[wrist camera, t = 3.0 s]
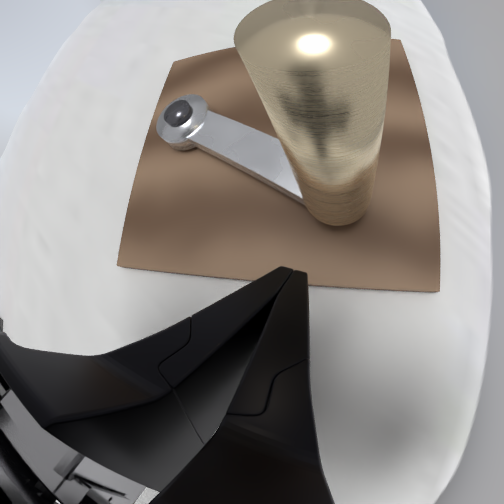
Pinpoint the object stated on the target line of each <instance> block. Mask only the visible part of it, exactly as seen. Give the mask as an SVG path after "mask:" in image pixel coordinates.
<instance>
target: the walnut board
mask: <svg viewBox="0 0 504 504" xmlns="http://www.w3.org/2000/svg"><path fill="white" fill-rule="evenodd" d="M189 94H195V95H199V96H201V97H202V98H203V99H204V100H205V101H206V103H207V104H208V106H209V107H210V108H211V110H212V111H213V112H214V113H216V114H219V115H222V116H224V117H227V118H229V119H232V120H234V121H237V122H239V123H242V124H244V125H247V126H249V127H251V128H254V129H256V130H259V131H261V132H263V133H265V134H268V135H270V136H272V137H274V138H277V139H278V136H277V134H276V132H275V129H274V127H273V125H272V123H271V120H270V118H269V116H268V114H267V111H266V109H265V107H264V105H263V103H262V100H261V98H260V96H259V94H258V92H257V90H256V88H255V85H254V83H253V81H252V79H251V77H250V75H249V73H248V71H247V69H246V67H245V65H244V63H243V61H242V59H241V57H240V55H239V53H238V51H237V49H236V47H233V48H228V49H223V50H218V51H214V52H209V53H205V54H201V55H197V56H193V57H189V58H186V59H182V60H178V61H175V62H173V64H172V67H171V69H170V72H169V74H168V77H167V79H166V82H165V84H164V87H163V90H162V92H161V95H160V98H159V101H158V103H157V106H156V109H155V112H154V115H153V118H152V121H151V124H150V127H149V130H148V133H147V136H146V140H145V143H144V146H143V150H142V153H141V157H140V160H139V164H138V167H137V171H136V175H135V179H134V183H133V187H132V191H131V195H130V199H129V204H128V208H127V213H126V217H125V222H124V227H123V232H122V238H121V243H120V249H119V255H118V261H117V266H120V267H124V268H133V269H141V270H150V271H159V272H168V273H177V274H186V275H196V276H206V277H216V278H227V279H238V280H249V281H255V280H257V279H258V278H260V277H262V276H264V275H265V274H267V273H269V272H271V271H272V270H274V269H276V268H278V267H280V266H284V267H288V268H292V269H293V270H299V271H303V272H306V273H307V274H308V285H311V286H325V287H340V288H356V289H373V290H392V291H413V292H439V291H440V229H439V213H438V201H437V191H436V182H435V175H434V168H433V161H432V155H431V149H430V143H429V138H428V133H427V128H426V124H425V119H424V115H423V111H422V107H421V103H420V99H419V95H418V92H417V88H416V85H415V81H414V78H413V75H412V72H411V68H410V65H409V62H408V59H407V57H406V54H405V51H404V48H403V45H402V43H401V40H397V39H391V45H390V64H389V78H388V90H387V100H386V109H385V117H384V125H383V132H382V139H381V146H380V152H379V158H378V164H377V170H376V176H375V181H374V186H373V191H372V196H371V201H370V204H369V207H368V209H367V211H366V212H365V214H364V215H363V216H362V217H361V218H360V219H358V220H357V221H355V222H353V223H351V224H348V225H343V226H332V225H328V224H325V223H322V222H320V221H319V220H317V219H316V218H315V217H313V216H312V215H311V213H310V212H309V211H308V209H307V207H305V206H304V205H302V204H300V203H299V202H297V201H295V200H294V199H292V198H290V197H288V196H287V195H285V194H283V193H281V192H280V191H278V190H276V189H274V188H273V187H271V186H269V185H267V184H265V183H264V182H262V181H260V180H258V179H256V178H255V177H253V176H251V175H249V174H247V173H245V172H244V171H242V170H240V169H238V168H236V167H234V166H232V165H230V164H229V163H227V162H225V161H223V160H221V159H219V158H217V157H215V156H213V155H211V154H209V153H207V152H205V151H203V150H201V149H199V148H197V147H194V148H192V149H189V150H176V149H174V148H172V147H171V146H170V145H169V144H168V143H167V142H166V141H165V140H164V139H163V138H161V137H160V136H159V134H158V133H157V129H156V125H157V120H158V118H159V116H160V114H161V112H162V111H163V110H164V109H165V107H166V106H167V105H169V104H170V103H171V102H172V101H174V100H175V99H177V98H179V97H181V96H184V95H189Z"/></svg>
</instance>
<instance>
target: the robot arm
mask: <svg viewBox="0 0 504 504" xmlns="http://www.w3.org/2000/svg"><path fill="white" fill-rule="evenodd" d="M309 359H310V329H309V294H308V274H307V273H306V272H303V271H299V270H293V269H292V268H288V267H284V266H280V267H278V268H276V269H274V270H272V271H271V272H269V273H267V274H265V275H264V276H262V277H260V278H258V279H257V280H255V281H253V282H251V283H250V284H248V285H246V286H244V287H242V288H241V289H239V290H237V291H235V292H233V293H232V294H230V295H228V296H226V297H225V298H223V299H221V300H219V301H217V302H215V303H214V304H212V305H210V306H208V307H206V308H205V309H203V310H201V311H199V312H197V313H195V314H194V315H192V316H191V317H188V318H186V319H184V320H182V321H180V322H179V323H177V324H175V325H173V326H171V327H169V328H167V329H165V330H163V331H160V332H158V333H156V334H153V335H151V336H149V337H146V338H144V339H141V340H139V341H136V342H134V343H131V344H129V345H126V346H124V347H121V348H119V349H116V350H114V351H111V352H108V353H105V354H101V355H94V356H83V355H73V354H64V353H56V352H48V351H41V350H34V349H29V348H24V347H21V346H18V345H16V344H15V343H13V342H12V341H11V340H10V338H9V337H8V336H7V334H6V333H5V332H0V504H58V503H57V502H55V501H56V500H58V501H59V502H60V503H61V504H134V503H135V502H136V500H137V499H138V497H139V496H140V495H141V493H142V492H143V491H144V489H145V488H146V487H148V488H151V489H153V490H156V491H158V492H160V493H159V494H158V495H157V496H156V497H155V498H154V499H153V500H152V501H151V502H150V503H149V504H335V503H334V500H333V497H332V495H331V492H330V489H329V487H328V484H327V481H326V478H325V476H324V472H323V469H322V465H321V460H320V455H319V448H318V441H317V434H316V427H315V420H314V413H313V406H312V397H311V385H310V360H309ZM220 423H221V424H220ZM219 425H220V426H219ZM218 426H219V427H218ZM217 428H218V429H217ZM216 429H217V431H216ZM215 431H216V432H215ZM214 432H215V434H214ZM213 434H214V435H213ZM212 435H213V436H212ZM210 438H211V439H210Z"/></svg>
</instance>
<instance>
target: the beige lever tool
mask: <svg viewBox="0 0 504 504" xmlns="http://www.w3.org/2000/svg"><path fill="white" fill-rule="evenodd" d="M234 44H235V47H236V49H237V51H238V53H239V55H240V57H241V59H242V61H243V63H244V65H245V67H246V69H247V71H248V73H249V75H250V77H251V79H252V81H253V83H254V85H255V88H256V90H257V92H258V94H259V96H260V98H261V100H262V103H263V105H264V107H265V109H266V111H267V114H268V116H269V118H270V120H271V123H272V125H273V127H274V129H275V132H276V134H277V136H278V139H277V138H274V137H272V136H270V135H268V134H265V133H263V132H261V131H259V130H256V129H254V128H251V127H249V126H247V125H244V124H242V123H239V122H237V121H234V120H232V119H229V118H227V117H224V116H222V115H219V114H216V113H214V112H213V111H212V110H211V108H210V107H209V106H208V104H207V103H206V101H205V100H204V99H203V98H202V97H201V96H199V95H195V94H189V95H184V96H181V97H179V98H177V99H175V100H174V101H172V102H171V103H170V104H169V105H167V106H166V107H165V109H164V110H163V111H162V112H161V114H160V116H159V118H158V120H157V125H156V129H157V133H158V134H159V136H160V137H161V138H163V139H164V140H165V141H166V142H167V143H168V144H169V145H170V146H171V147H172V148H174V149H176V150H189V149H192V148H194V147H197V148H199V149H201V150H203V151H205V152H207V153H209V154H211V155H213V156H215V157H217V158H219V159H221V160H223V161H225V162H227V163H229V164H230V165H232V166H234V167H236V168H238V169H240V170H242V171H244V172H245V173H247V174H249V175H251V176H253V177H255V178H256V179H258V180H260V181H262V182H264V183H265V184H267V185H269V186H271V187H273V188H274V189H276V190H278V191H280V192H281V193H283V194H285V195H287V196H288V197H290V198H292V199H294V200H295V201H297V202H299V203H300V204H302V205H304V206H305V207H307V209H308V211H309V212H310V213H311V215H312V216H313V217H315V218H316V219H317V220H319V221H320V222H322V223H325V224H328V225H332V226H343V225H348V224H351V223H353V222H355V221H357V220H358V219H360V218H361V217H362V216H363V215H364V214H365V212H366V211H367V209H368V207H369V204H370V201H371V196H372V191H373V186H374V181H375V176H376V170H377V164H378V158H379V152H380V146H381V139H382V132H383V125H384V117H385V109H386V100H387V90H388V78H389V64H390V45H391V28H390V24H389V22H388V20H387V18H386V17H385V16H384V15H383V14H382V13H381V12H380V11H379V10H378V9H377V8H375V7H374V6H372V5H370V4H369V3H367V2H365V1H362V0H272V1H269V2H267V3H265V4H263V5H261V6H259V7H257V8H256V9H254V10H253V11H251V12H250V13H249V14H248V15H247V16H245V17H244V18H243V20H242V21H241V22H240V23H239V25H238V26H237V28H236V31H235V34H234Z"/></svg>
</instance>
